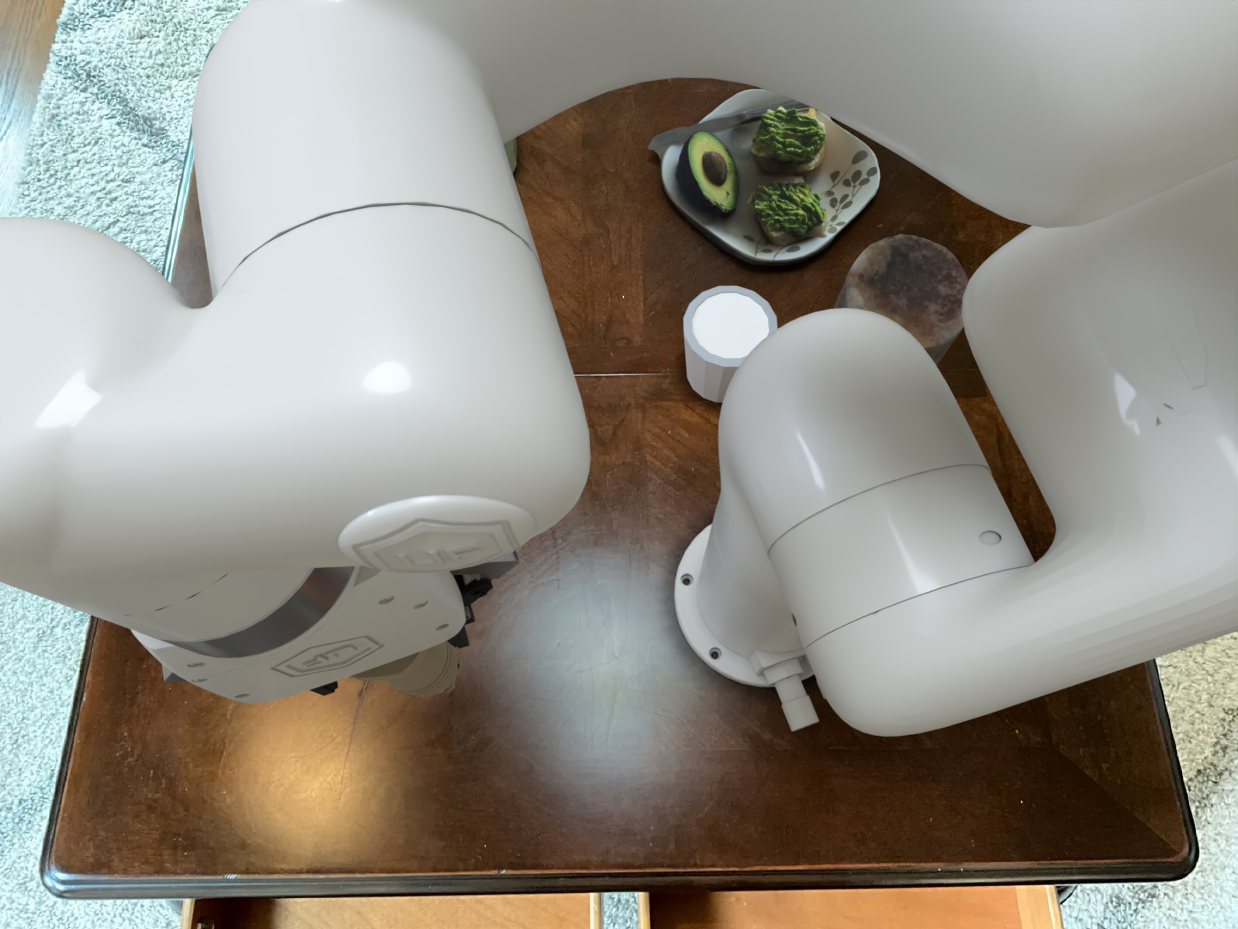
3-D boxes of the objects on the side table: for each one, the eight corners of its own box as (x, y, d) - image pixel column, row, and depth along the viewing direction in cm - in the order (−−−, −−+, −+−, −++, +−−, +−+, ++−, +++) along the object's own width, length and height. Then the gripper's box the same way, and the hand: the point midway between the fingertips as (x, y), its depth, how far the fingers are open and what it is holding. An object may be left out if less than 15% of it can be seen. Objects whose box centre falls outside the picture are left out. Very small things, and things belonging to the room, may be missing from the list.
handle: (469, 728, 53) (402, 695, 39) (372, 692, 54) (273, 648, 40) (499, 651, 54) (445, 593, 40) (405, 618, 55) (321, 550, 41)
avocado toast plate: (773, 58, 82) (780, 16, 78) (924, 166, 77) (941, 128, 73) (623, 174, 77) (623, 136, 73) (774, 298, 72) (782, 264, 68)
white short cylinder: (782, 380, 69) (798, 334, 63) (712, 425, 68) (720, 383, 62) (730, 319, 72) (739, 268, 65) (661, 361, 70) (664, 314, 64)
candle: (879, 393, 69) (969, 233, 50) (887, 480, 66) (986, 345, 48) (781, 391, 69) (835, 231, 51) (784, 478, 66) (844, 342, 48)
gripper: (-31, 744, 26) (237, 774, 43) (527, 554, 28) (575, 654, 44) (-43, 517, 29) (212, 628, 45) (464, 356, 30) (532, 521, 47)
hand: (390, 640), depth 45 cm, fingers closed on handle, 6 cm apart
